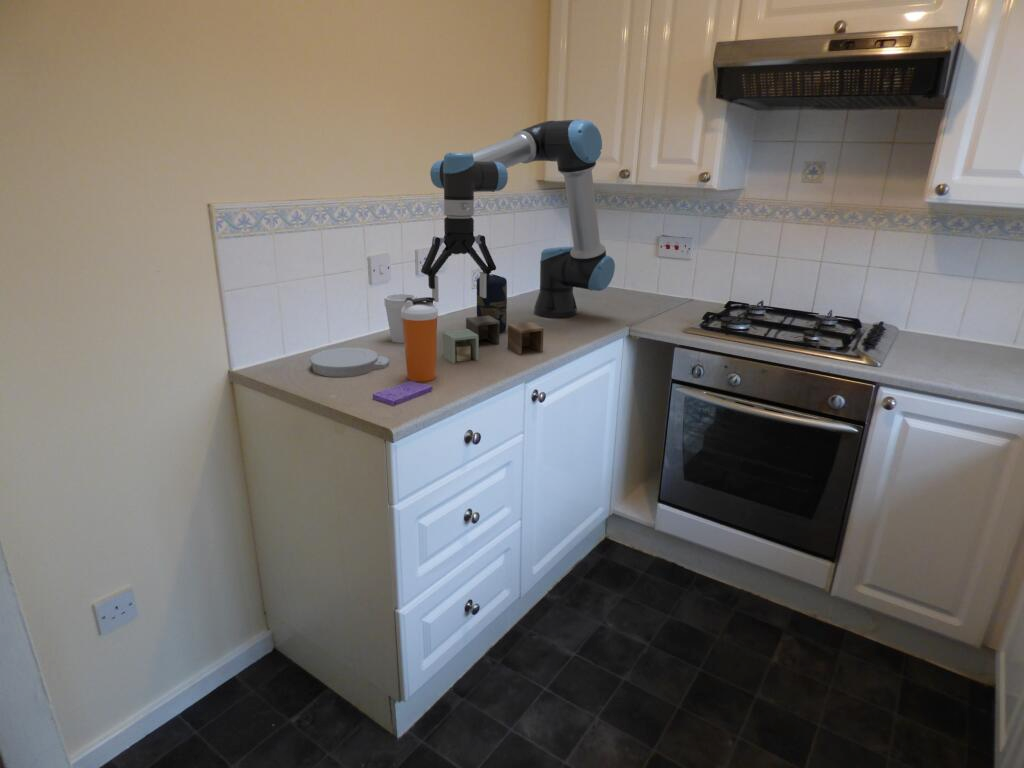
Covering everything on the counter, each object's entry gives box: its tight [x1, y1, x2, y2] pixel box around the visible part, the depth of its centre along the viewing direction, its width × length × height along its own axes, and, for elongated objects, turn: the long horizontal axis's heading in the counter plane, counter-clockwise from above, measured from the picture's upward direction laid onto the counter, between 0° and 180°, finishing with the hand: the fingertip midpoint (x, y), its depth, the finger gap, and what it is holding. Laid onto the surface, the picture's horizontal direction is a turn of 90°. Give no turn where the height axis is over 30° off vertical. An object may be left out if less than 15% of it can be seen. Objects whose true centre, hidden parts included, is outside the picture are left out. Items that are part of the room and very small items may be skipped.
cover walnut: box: [507, 321, 544, 356], centre depth 185 cm, size 8×8×7 cm
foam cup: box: [383, 293, 418, 344], centre depth 192 cm, size 10×9×13 cm
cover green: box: [442, 328, 480, 365], centre depth 176 cm, size 8×8×7 cm
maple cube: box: [455, 342, 472, 362], centre depth 176 cm, size 4×4×4 cm
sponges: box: [372, 380, 433, 406], centre depth 150 cm, size 7×13×2 cm, turn 143°
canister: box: [476, 273, 508, 333], centre depth 202 cm, size 10×10×18 cm
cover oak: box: [465, 316, 501, 345], centre depth 191 cm, size 8×8×7 cm
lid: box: [309, 347, 390, 378], centre depth 169 cm, size 17×20×3 cm
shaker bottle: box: [401, 296, 439, 383], centre depth 158 cm, size 9×9×20 cm
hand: (459, 299), depth 172 cm, fingers open, 13 cm apart
